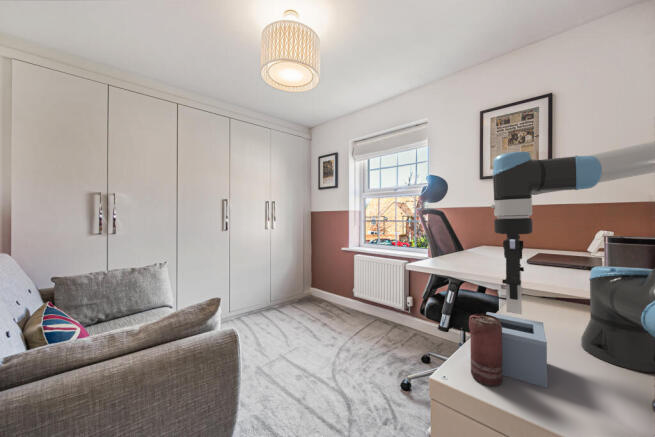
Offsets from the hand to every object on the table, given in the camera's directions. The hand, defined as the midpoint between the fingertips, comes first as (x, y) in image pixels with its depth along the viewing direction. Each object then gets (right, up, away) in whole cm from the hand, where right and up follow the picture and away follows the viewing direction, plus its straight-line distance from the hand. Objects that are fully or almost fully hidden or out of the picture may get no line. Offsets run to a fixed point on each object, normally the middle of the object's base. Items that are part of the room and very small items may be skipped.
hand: (514, 303), depth 62 cm
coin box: (0, -15, 0) cm, 15 cm away
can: (-10, -16, -4) cm, 19 cm away
